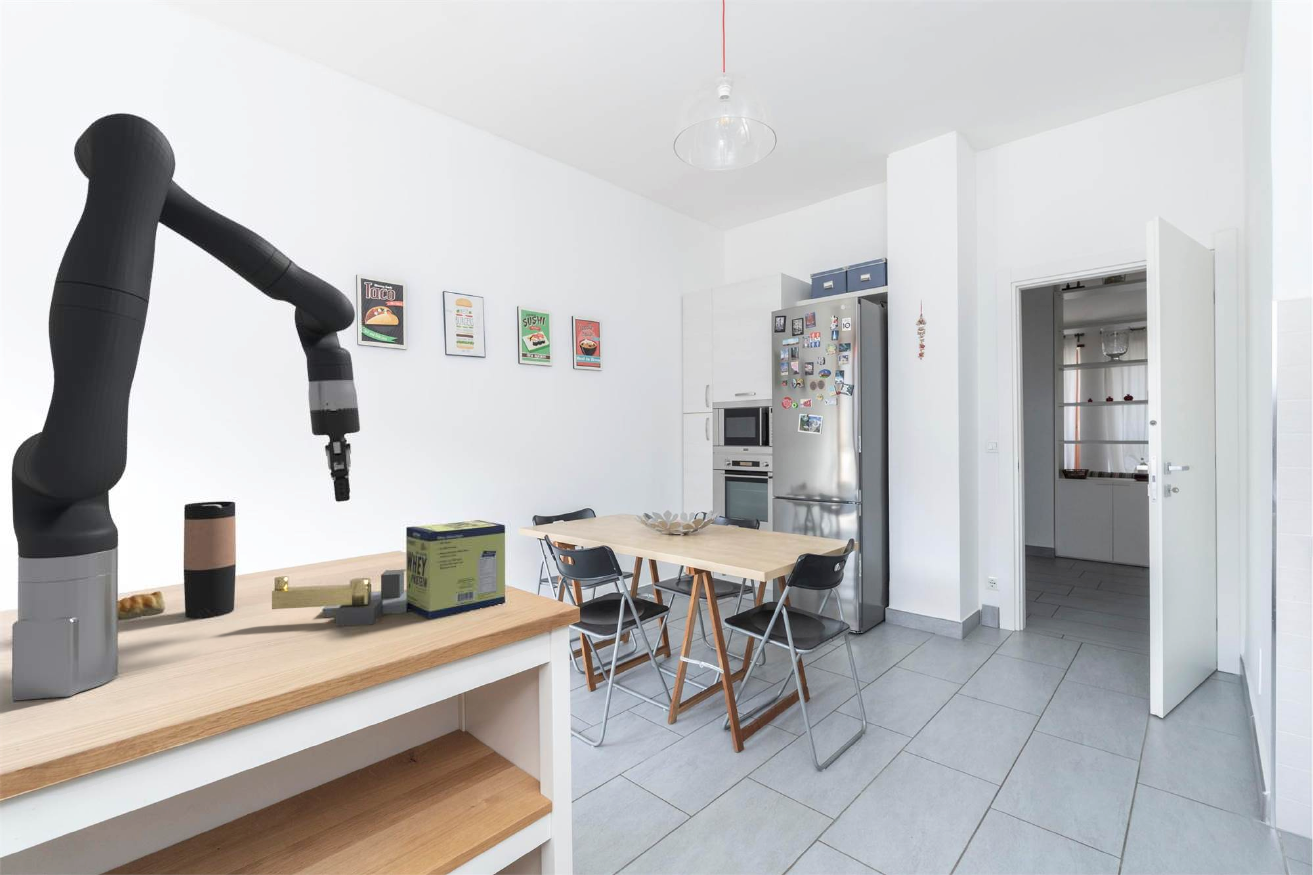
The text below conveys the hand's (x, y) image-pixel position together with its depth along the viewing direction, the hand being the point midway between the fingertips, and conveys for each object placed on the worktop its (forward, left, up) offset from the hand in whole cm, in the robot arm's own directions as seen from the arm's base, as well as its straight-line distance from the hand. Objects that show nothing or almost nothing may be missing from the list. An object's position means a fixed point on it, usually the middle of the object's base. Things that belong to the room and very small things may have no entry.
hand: (343, 497), depth 106 cm
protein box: (+3, -19, -22) cm, 29 cm away
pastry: (+9, +37, -22) cm, 44 cm away
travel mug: (+8, +25, -22) cm, 34 cm away
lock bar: (-2, +2, -18) cm, 19 cm away
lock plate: (+3, -3, -21) cm, 22 cm away
